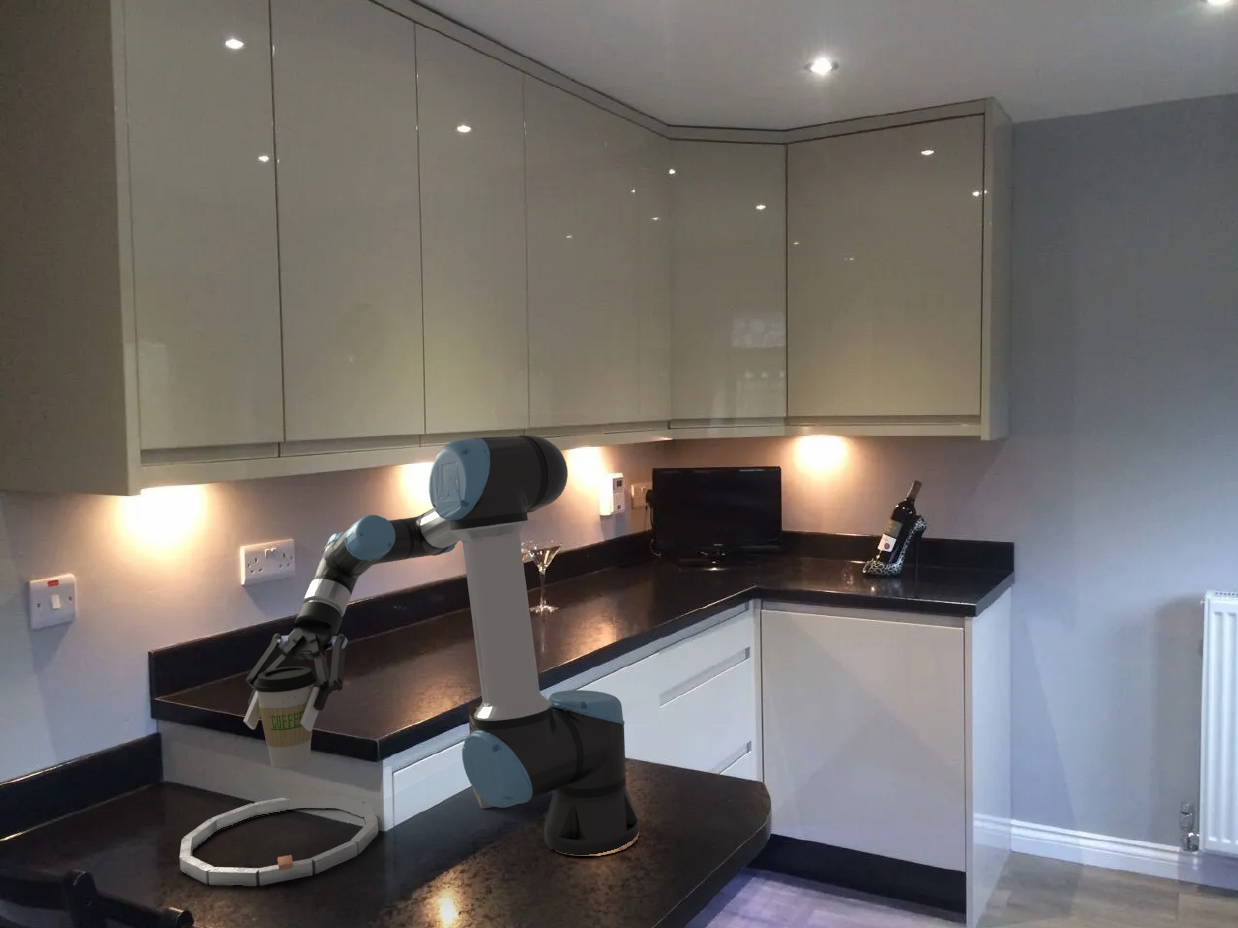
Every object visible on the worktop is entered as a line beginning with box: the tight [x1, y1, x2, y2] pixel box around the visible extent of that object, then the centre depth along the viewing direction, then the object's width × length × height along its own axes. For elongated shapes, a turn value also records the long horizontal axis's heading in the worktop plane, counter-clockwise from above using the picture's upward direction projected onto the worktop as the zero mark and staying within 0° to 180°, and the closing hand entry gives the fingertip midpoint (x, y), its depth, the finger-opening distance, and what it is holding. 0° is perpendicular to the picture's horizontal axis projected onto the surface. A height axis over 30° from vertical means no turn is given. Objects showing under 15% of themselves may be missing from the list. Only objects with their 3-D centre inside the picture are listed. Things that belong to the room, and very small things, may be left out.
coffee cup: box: [254, 665, 317, 769], centre depth 166 cm, size 10×10×15 cm
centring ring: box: [179, 797, 379, 887], centre depth 163 cm, size 31×30×3 cm
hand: (277, 726), depth 163 cm, fingers closed on coffee cup, 10 cm apart
